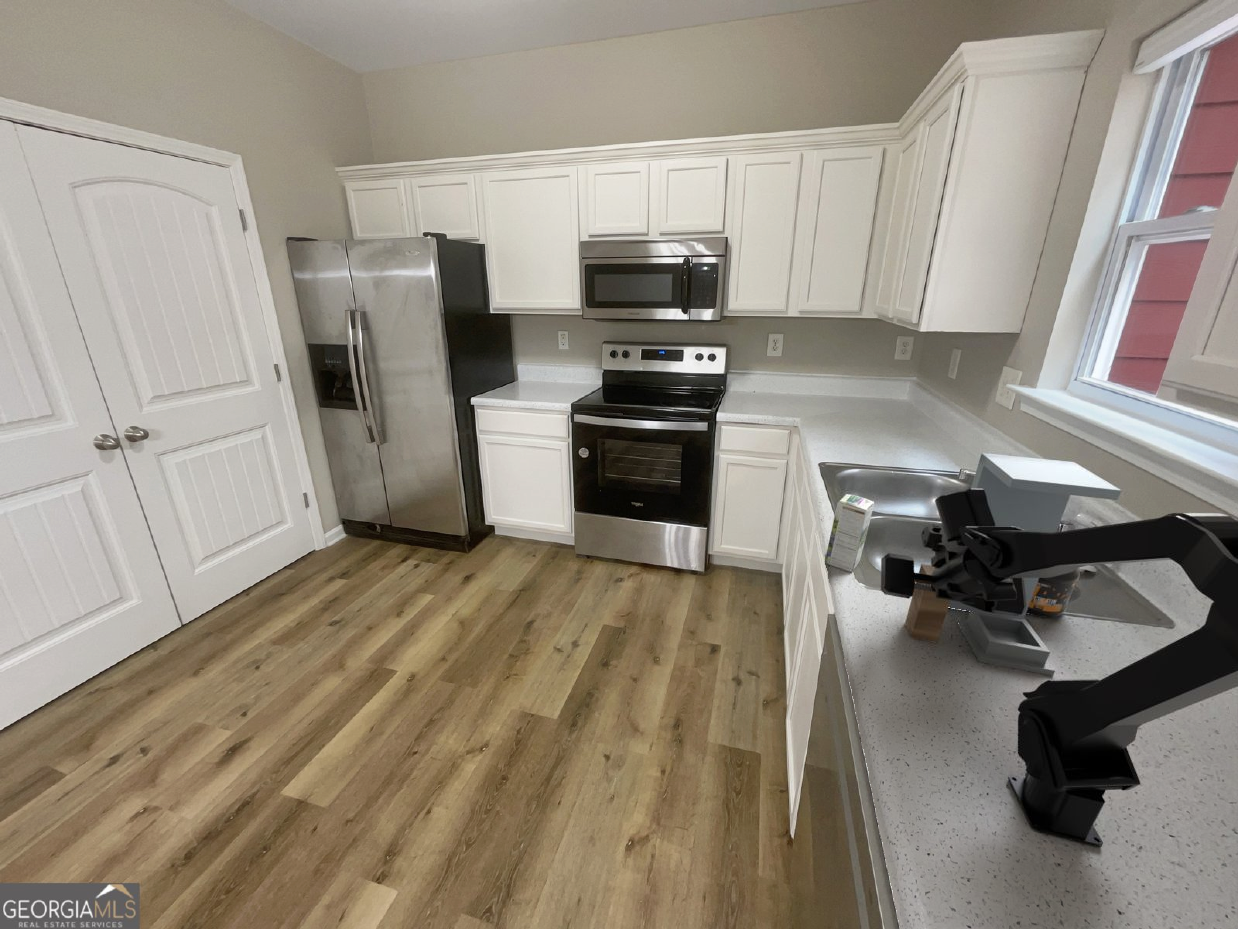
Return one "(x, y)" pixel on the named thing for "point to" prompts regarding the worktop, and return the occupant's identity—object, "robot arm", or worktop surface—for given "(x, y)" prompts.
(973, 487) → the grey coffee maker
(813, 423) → the worktop surface
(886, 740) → the worktop surface
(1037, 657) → the socket
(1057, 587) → the supplement container
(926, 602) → the peg
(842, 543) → the syrup box
